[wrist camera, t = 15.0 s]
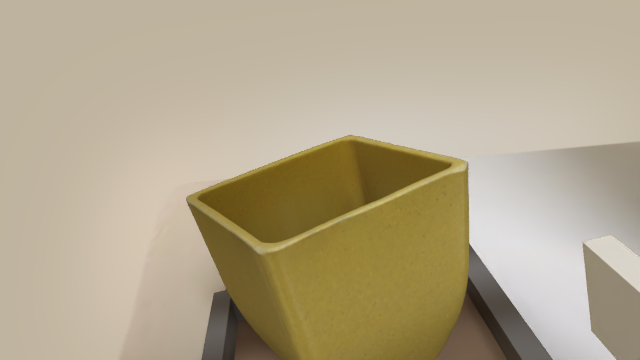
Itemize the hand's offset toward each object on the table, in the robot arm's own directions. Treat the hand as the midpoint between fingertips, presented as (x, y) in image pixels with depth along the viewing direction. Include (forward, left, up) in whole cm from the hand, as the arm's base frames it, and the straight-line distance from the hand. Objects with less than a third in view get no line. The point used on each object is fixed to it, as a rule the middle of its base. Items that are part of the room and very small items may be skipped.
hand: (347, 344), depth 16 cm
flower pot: (-6, -7, -8) cm, 12 cm away
